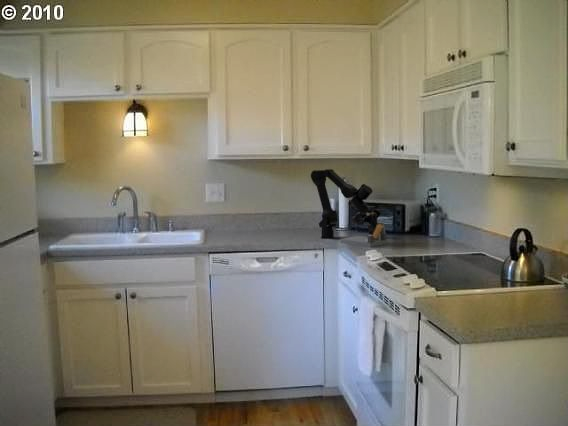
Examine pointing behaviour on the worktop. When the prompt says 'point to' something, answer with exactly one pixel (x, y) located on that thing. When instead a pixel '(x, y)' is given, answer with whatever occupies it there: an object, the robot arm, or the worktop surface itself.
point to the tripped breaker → (377, 231)
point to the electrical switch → (372, 229)
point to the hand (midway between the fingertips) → (377, 227)
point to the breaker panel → (366, 240)
